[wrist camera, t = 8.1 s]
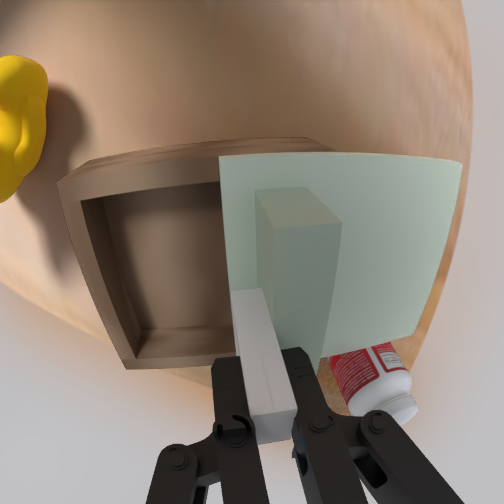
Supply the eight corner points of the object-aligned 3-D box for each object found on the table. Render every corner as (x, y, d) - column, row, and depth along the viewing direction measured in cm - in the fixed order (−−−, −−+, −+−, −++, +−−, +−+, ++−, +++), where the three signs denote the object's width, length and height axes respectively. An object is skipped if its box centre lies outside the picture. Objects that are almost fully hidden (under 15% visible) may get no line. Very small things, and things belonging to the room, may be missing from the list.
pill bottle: (321, 361, 29) (356, 448, 20) (320, 323, 26) (365, 423, 16) (372, 343, 29) (416, 422, 20) (378, 304, 26) (435, 391, 17)
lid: (237, 362, 19) (246, 420, 15) (218, 156, 12) (225, 186, 8) (408, 328, 21) (436, 369, 17) (454, 160, 14) (510, 187, 10)
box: (135, 324, 23) (126, 369, 19) (90, 160, 16) (55, 182, 12) (296, 307, 24) (314, 350, 20) (305, 137, 17) (336, 151, 13)
